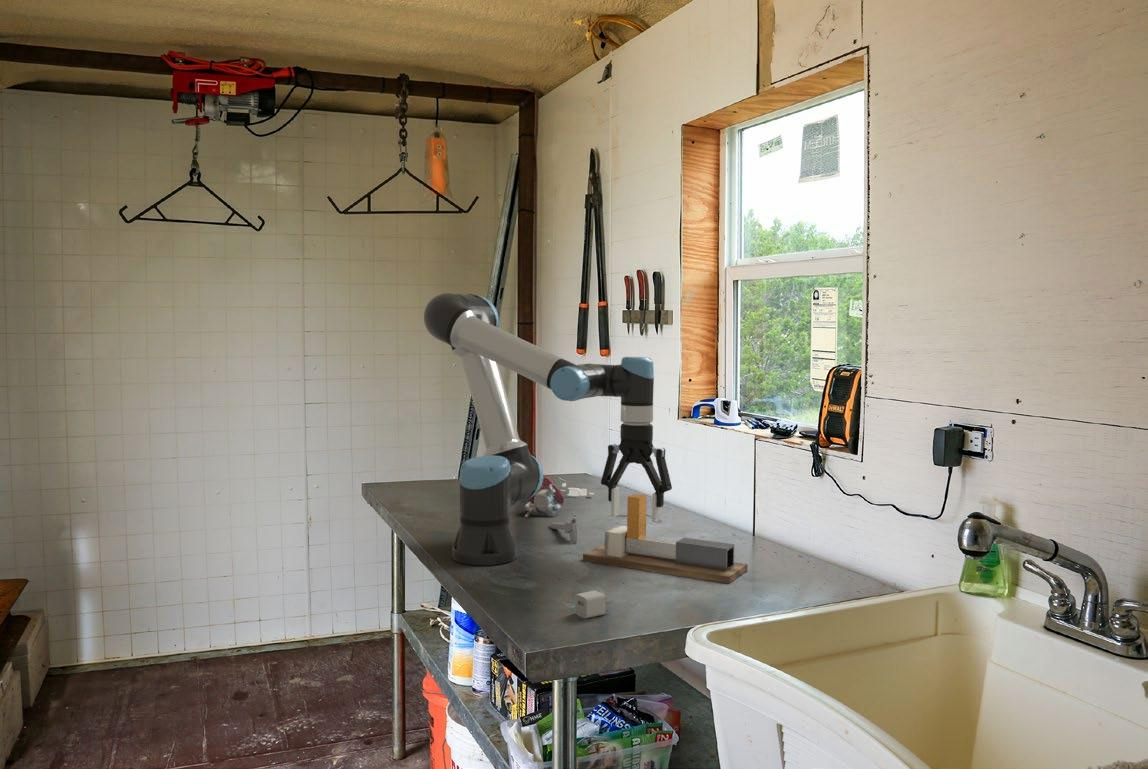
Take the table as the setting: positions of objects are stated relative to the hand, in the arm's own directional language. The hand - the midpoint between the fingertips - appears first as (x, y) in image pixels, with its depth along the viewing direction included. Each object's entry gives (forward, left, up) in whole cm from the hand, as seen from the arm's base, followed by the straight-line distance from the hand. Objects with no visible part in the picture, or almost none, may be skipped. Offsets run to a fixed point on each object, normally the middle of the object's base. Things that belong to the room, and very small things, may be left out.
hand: (635, 518), depth 209 cm
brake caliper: (+33, +45, -10) cm, 57 cm away
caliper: (+14, +28, -11) cm, 33 cm away
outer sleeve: (0, -17, -9) cm, 19 cm away
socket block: (0, +4, -9) cm, 9 cm away
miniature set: (+60, +63, -11) cm, 88 cm away
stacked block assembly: (0, -6, -8) cm, 10 cm away
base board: (0, -7, -10) cm, 13 cm away
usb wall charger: (-38, -10, -10) cm, 41 cm away
